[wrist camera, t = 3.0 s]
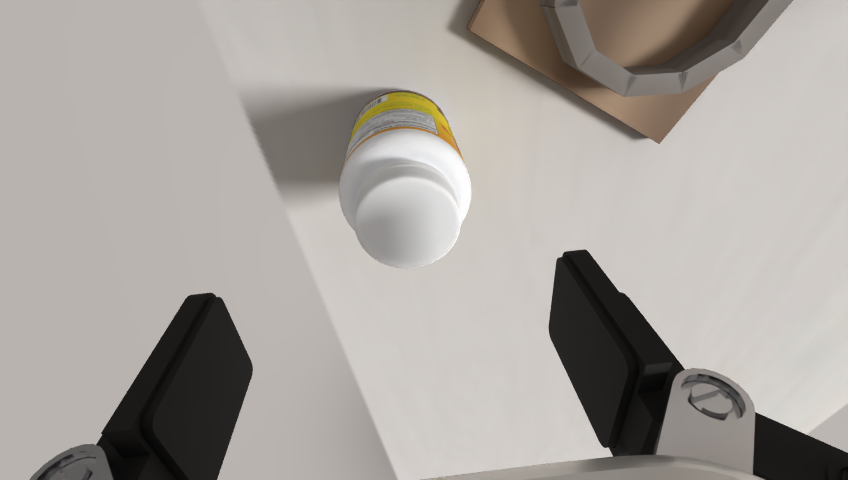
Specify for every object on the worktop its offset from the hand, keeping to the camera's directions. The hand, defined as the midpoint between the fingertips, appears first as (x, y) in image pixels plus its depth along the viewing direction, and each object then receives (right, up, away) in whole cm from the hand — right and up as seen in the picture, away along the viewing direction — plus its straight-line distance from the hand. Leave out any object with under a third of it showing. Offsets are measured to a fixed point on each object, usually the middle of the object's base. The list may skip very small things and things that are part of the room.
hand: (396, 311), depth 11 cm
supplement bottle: (-1, +8, +12) cm, 15 cm away
